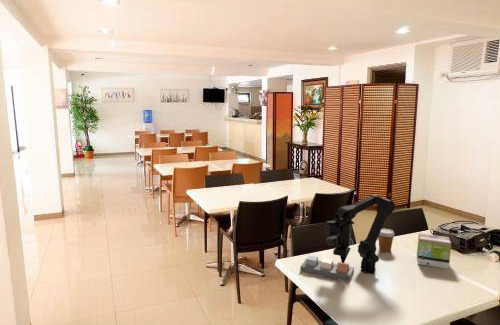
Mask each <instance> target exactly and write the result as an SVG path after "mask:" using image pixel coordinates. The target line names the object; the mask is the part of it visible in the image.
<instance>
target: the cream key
mask: <svg viewBox="0 0 500 325" xmlns="http://www.w3.org/2000/svg"><path fill="white" fill-rule="evenodd" d="M320 261H321V268H323V269H328V270H332V269H333V263H334V259H331V258H324V257H323V259H322V260H320Z"/></svg>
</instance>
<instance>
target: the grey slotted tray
mask: <svg viewBox="0 0 500 325" xmlns="http://www.w3.org/2000/svg"><path fill="white" fill-rule="evenodd" d="M321 261H322V260H318V265H317V266H316V267H312V266H307V265H306V259H305V260H304V261H303V263H301V265H300V267H299V269H300V273H304V274H309V275H310V274H311V275H314V276H320V277H324V278H329V279H334V280H338V281H343V282H347V283H350V282H351V280H352V277H353V275H354V273H355V267H353V266H350V265H349V272H348V273H343V272H338V271H337V264H338V263H334V262H333V269H332V270H328V269H323V268H321Z"/></svg>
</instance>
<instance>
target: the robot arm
mask: <svg viewBox="0 0 500 325" xmlns="http://www.w3.org/2000/svg"><path fill="white" fill-rule="evenodd" d="M375 205H376V214H375V217H374V219H373V221H372V224H371V226H370V228H369V231H368V234H367V236H366V238H365V239H364V240H360V242H359V244H358V245H357V252H358V254H359V256H360V258H362V259H361V261H360V269H361V272H362V273H363V272H364V273H367V274H372V275H373V274H375V272H376V263H378V262H379V260H380V257H379V256H378V255H377V254H376V252H377V241H378V240H379V239H378V236H379V234H380V231H381V229H383V227H384V224H385V222H386V219H387V218H388V217H389V216H391V215H392V214H393V212H394V210H395V208H396V204H395V202H394V201H393V200H391V199H388V198H385V197H380V196H378V195H376V194H373V193H372V194H370V195H369V196H367V197H365V198H363V199H361V200H358V201H357V202H355V203H353V204H349V205H344V206H341V207H339V208H338V209H337V212H336V213H335V215H334V216H333V218H332V219H331V220H327V221H326V222H325V224H324V226H323V228H322V229H323V232H324V234H325V236H328V237H327V238H326V240H325V241H326V242H325V243H326V244H327V246H328V247H330V246H333V245H335V246H336V247H334V249H333V252H332V253H333V256H334V255H335V256H339V257H340V261H341V262H342V263H344V262H346V260H347V258H348V255H349V253H350V251H351V247H350V246H353V245H354V239H353V238H351V236H352V234H351V225H355V221H353V219H354V218H355V217H356V216H357V214H359V213H361V212H363V211H365V210H367V209H368V208H370V207H373V206H375ZM333 235H334V236H333Z"/></svg>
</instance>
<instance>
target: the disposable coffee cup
mask: <svg viewBox="0 0 500 325" xmlns="http://www.w3.org/2000/svg"><path fill="white" fill-rule="evenodd" d="M394 236H395V232H394V230H393V229H390V228H382V229H381V231H380V234H379V236H378V239H377V240H378V249H379V251H380V252H383V253H391V251H392V245H393V241H394Z"/></svg>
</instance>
